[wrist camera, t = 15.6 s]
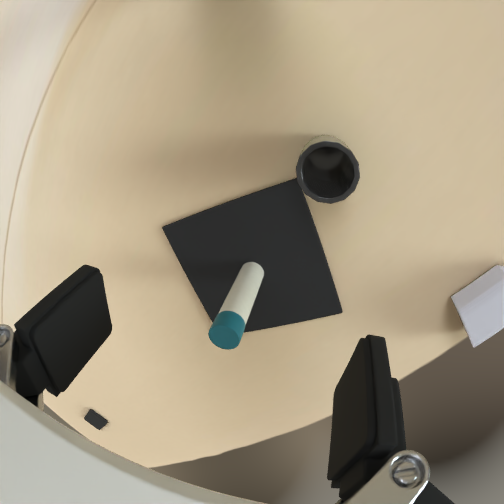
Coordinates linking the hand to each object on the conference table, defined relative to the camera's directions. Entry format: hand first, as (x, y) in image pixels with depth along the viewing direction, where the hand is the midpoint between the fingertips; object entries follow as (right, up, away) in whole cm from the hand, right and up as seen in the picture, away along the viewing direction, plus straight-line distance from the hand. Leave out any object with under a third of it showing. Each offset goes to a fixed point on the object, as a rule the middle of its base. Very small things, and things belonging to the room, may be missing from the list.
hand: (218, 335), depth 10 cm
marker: (+1, 0, +32) cm, 32 cm away
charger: (+38, -3, +25) cm, 45 cm away
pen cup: (+10, +13, +23) cm, 29 cm away
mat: (+1, 0, +32) cm, 32 cm away
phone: (-54, -56, +74) cm, 107 cm away
